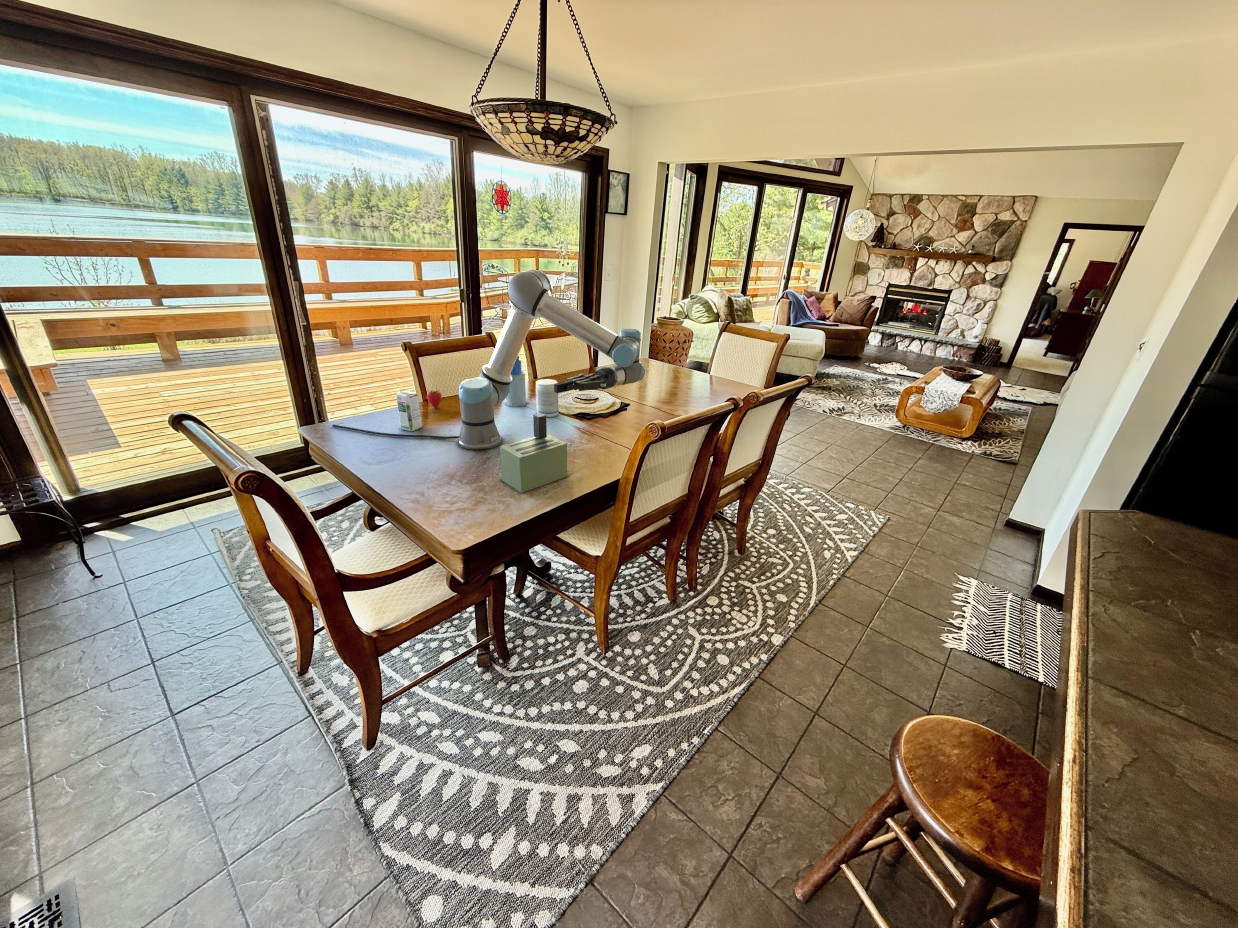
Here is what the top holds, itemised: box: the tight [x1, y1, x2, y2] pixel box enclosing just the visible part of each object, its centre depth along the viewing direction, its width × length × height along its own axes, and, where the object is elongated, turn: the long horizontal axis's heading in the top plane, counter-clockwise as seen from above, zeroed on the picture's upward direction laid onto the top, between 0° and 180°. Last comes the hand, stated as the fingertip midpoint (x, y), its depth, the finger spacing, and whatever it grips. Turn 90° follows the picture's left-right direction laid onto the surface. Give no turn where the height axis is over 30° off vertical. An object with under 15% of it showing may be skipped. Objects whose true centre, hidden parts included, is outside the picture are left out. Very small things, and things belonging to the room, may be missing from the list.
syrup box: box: [395, 390, 422, 432], centre depth 187 cm, size 6×6×14 cm
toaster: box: [499, 433, 568, 494], centre depth 154 cm, size 18×11×12 cm, turn 134°
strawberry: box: [426, 387, 443, 409], centre depth 211 cm, size 6×8×10 cm
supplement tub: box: [535, 378, 559, 418], centre depth 209 cm, size 10×10×15 cm
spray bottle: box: [505, 354, 527, 407], centre depth 218 cm, size 9×9×25 cm
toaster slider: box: [532, 413, 548, 439], centre depth 155 cm, size 3×3×8 cm
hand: (555, 388), depth 154 cm, fingers closed
